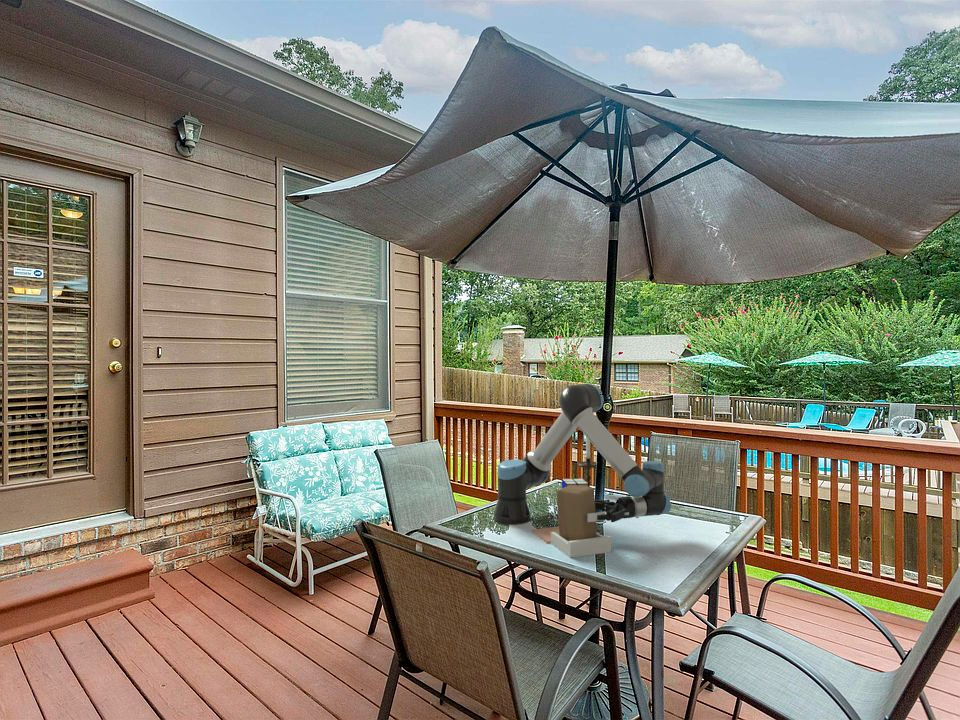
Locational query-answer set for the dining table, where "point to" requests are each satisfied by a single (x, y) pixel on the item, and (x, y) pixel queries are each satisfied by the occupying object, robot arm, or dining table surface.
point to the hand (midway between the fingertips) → (577, 512)
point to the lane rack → (582, 545)
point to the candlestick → (587, 462)
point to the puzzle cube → (573, 482)
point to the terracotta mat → (546, 533)
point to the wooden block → (576, 512)
